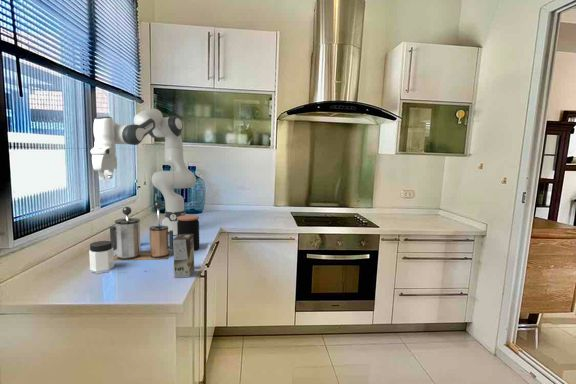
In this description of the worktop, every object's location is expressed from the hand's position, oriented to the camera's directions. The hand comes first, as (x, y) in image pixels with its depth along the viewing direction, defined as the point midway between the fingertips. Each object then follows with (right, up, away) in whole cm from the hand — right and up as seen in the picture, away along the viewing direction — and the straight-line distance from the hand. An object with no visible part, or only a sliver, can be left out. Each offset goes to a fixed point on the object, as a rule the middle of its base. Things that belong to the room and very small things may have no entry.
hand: (106, 179), depth 159 cm
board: (+18, -38, -2) cm, 42 cm away
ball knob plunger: (+27, -28, -3) cm, 39 cm away
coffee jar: (+37, -37, +10) cm, 53 cm away
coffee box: (+45, -41, -21) cm, 64 cm away
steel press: (+11, -37, -4) cm, 39 cm away
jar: (+9, -40, -19) cm, 45 cm away
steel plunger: (+13, -35, -4) cm, 37 cm away
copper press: (+28, -37, -2) cm, 46 cm away
